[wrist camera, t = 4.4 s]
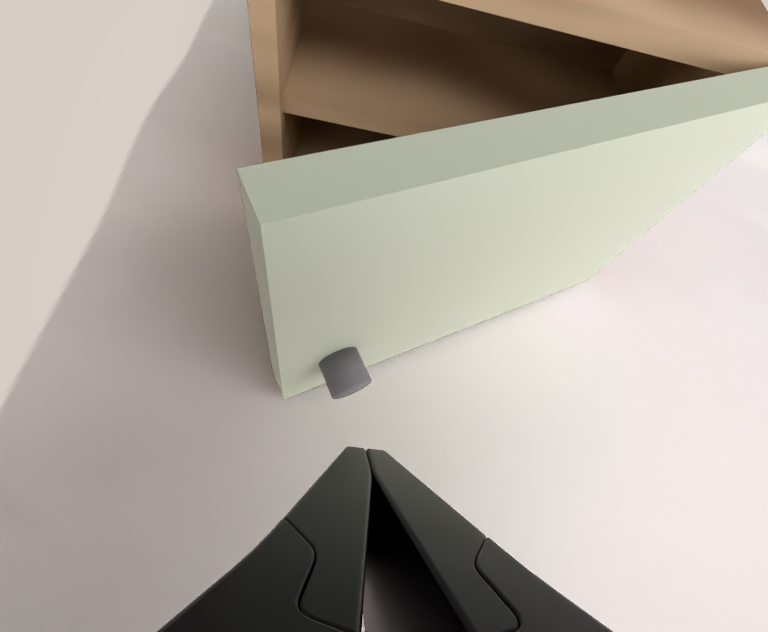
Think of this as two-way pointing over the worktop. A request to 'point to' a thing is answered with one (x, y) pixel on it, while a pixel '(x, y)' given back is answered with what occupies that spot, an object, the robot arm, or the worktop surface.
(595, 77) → the cabinet
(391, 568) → the robot arm
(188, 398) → the worktop surface
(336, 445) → the worktop surface
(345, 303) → the door
